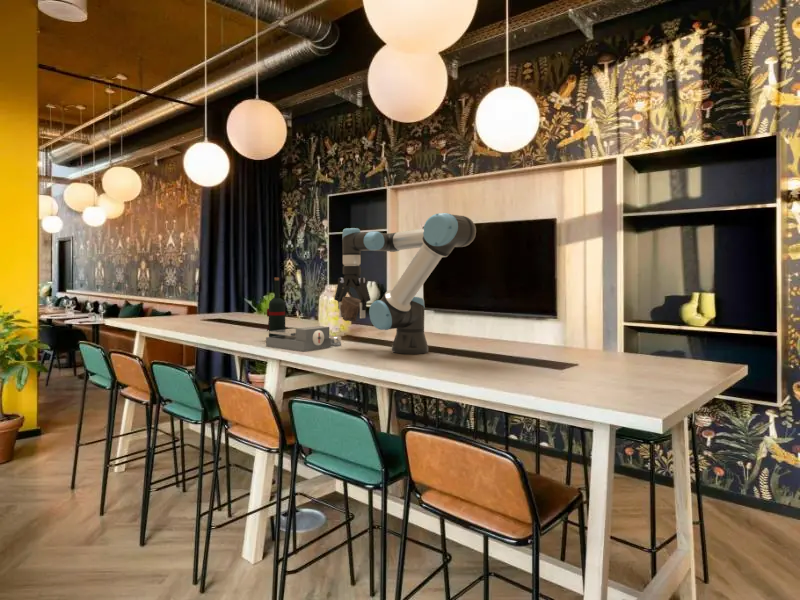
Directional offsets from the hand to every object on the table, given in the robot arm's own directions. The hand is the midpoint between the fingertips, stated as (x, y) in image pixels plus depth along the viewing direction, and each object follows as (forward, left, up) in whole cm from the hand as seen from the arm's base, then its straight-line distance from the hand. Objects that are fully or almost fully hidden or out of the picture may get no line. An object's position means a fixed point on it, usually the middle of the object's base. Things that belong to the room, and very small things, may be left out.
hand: (352, 317), depth 229 cm
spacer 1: (+20, -5, -14) cm, 25 cm away
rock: (+1, 0, -2) cm, 2 cm away
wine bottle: (+45, +3, -14) cm, 48 cm away
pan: (+28, +8, -9) cm, 31 cm away
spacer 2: (+14, -5, -14) cm, 21 cm away
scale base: (+24, +8, -14) cm, 29 cm away
